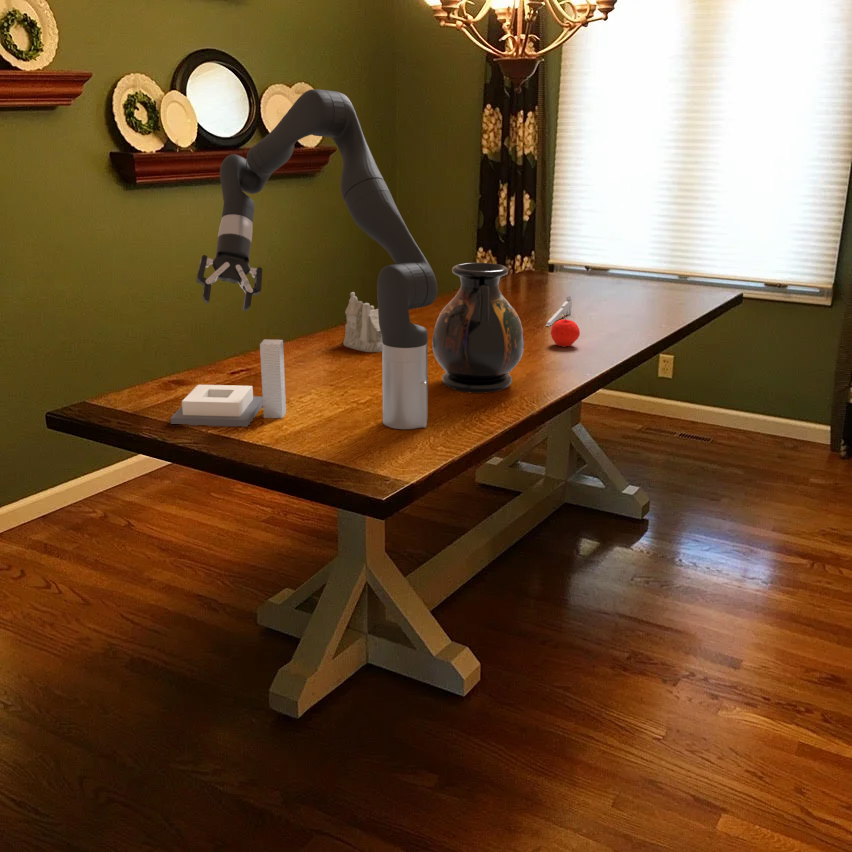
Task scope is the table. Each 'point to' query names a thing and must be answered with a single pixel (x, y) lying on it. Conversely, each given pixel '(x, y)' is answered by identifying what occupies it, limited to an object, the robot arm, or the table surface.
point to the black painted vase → (478, 332)
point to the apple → (565, 332)
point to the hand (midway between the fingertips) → (226, 306)
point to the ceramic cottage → (362, 326)
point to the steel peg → (273, 378)
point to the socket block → (219, 406)
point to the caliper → (561, 311)
